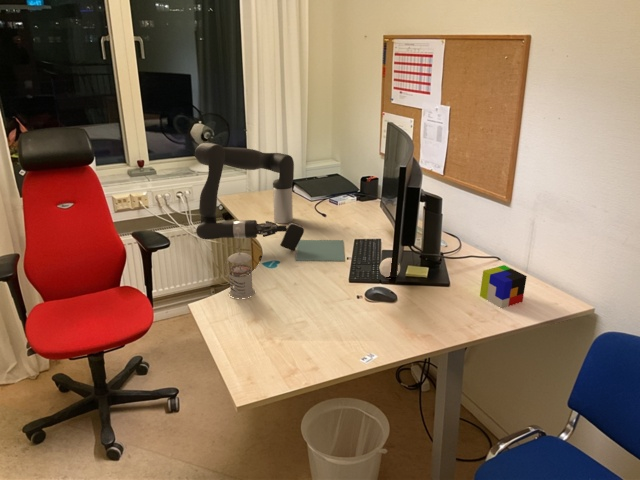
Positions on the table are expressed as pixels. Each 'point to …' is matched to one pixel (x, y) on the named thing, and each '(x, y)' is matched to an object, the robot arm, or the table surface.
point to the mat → (320, 250)
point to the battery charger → (292, 236)
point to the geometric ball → (387, 267)
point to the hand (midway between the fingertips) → (286, 228)
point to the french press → (240, 282)
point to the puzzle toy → (502, 286)
